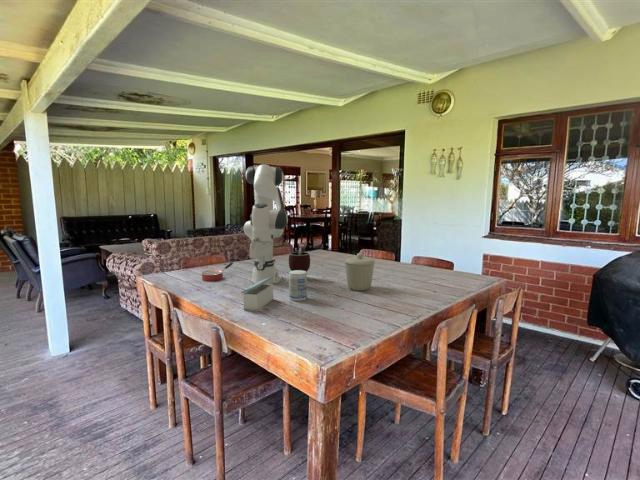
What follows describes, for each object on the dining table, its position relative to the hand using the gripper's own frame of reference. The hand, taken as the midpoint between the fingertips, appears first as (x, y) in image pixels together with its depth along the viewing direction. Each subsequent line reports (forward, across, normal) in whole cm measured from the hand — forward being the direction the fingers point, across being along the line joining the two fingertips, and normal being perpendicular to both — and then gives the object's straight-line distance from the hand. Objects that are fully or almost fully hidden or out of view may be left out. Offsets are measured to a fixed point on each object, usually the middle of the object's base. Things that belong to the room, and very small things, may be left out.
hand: (261, 264), depth 179 cm
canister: (+21, +43, -42) cm, 64 cm away
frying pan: (+21, +50, +55) cm, 77 cm away
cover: (+11, 0, +3) cm, 11 cm away
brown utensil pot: (+21, +55, -1) cm, 59 cm away
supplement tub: (+21, +14, -14) cm, 29 cm away
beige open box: (+21, 0, +2) cm, 21 cm away
